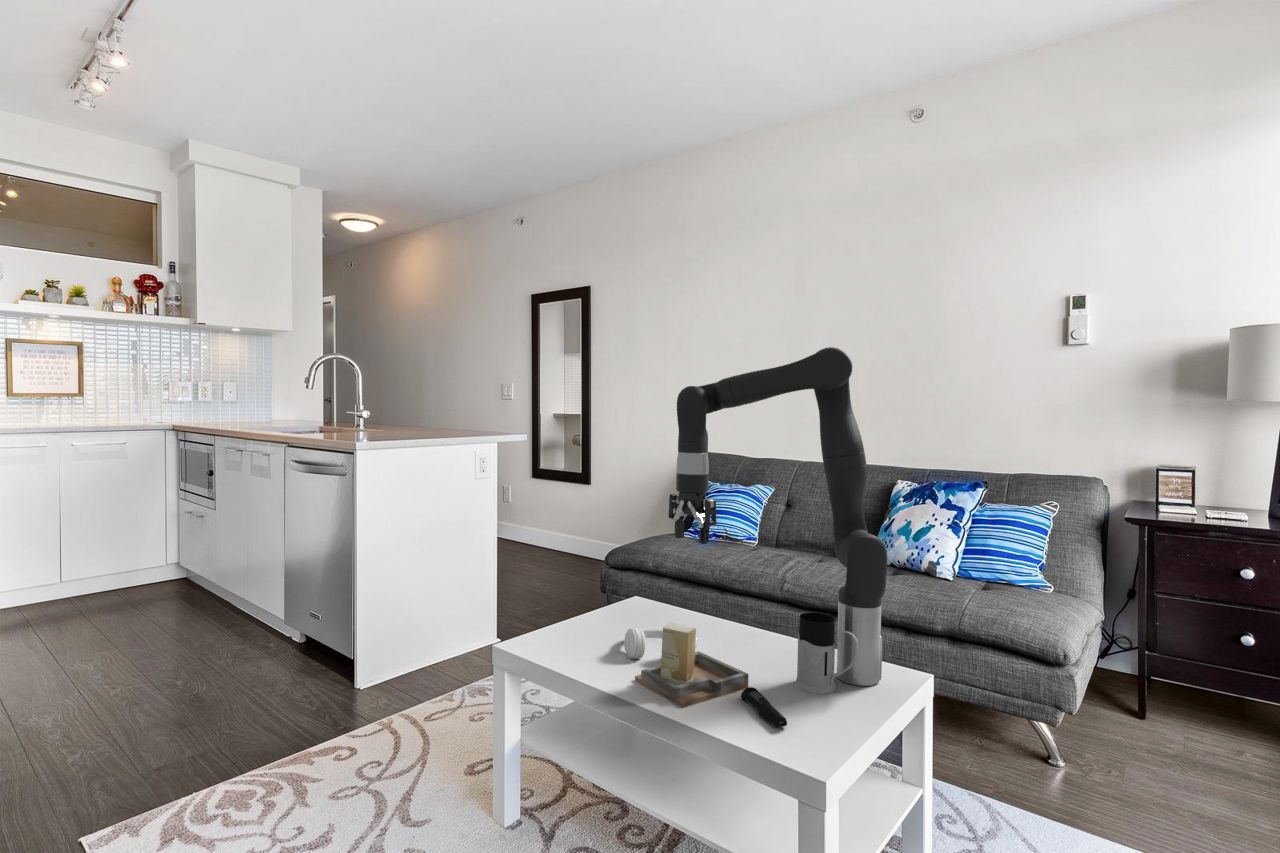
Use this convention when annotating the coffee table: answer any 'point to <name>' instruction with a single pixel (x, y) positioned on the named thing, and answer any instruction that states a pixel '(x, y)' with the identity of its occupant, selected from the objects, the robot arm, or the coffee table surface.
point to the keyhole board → (697, 681)
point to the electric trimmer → (763, 707)
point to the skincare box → (678, 653)
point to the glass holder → (818, 653)
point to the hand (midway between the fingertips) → (691, 540)
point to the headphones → (640, 641)
